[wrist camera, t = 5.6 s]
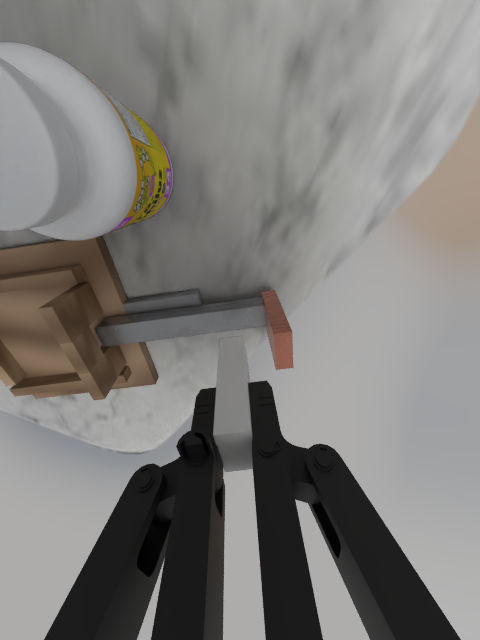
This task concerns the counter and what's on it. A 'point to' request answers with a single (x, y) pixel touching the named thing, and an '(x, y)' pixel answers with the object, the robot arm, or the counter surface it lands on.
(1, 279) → the dock
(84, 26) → the counter surface
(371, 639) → the robot arm
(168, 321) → the lock pin
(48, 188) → the supplement bottle
